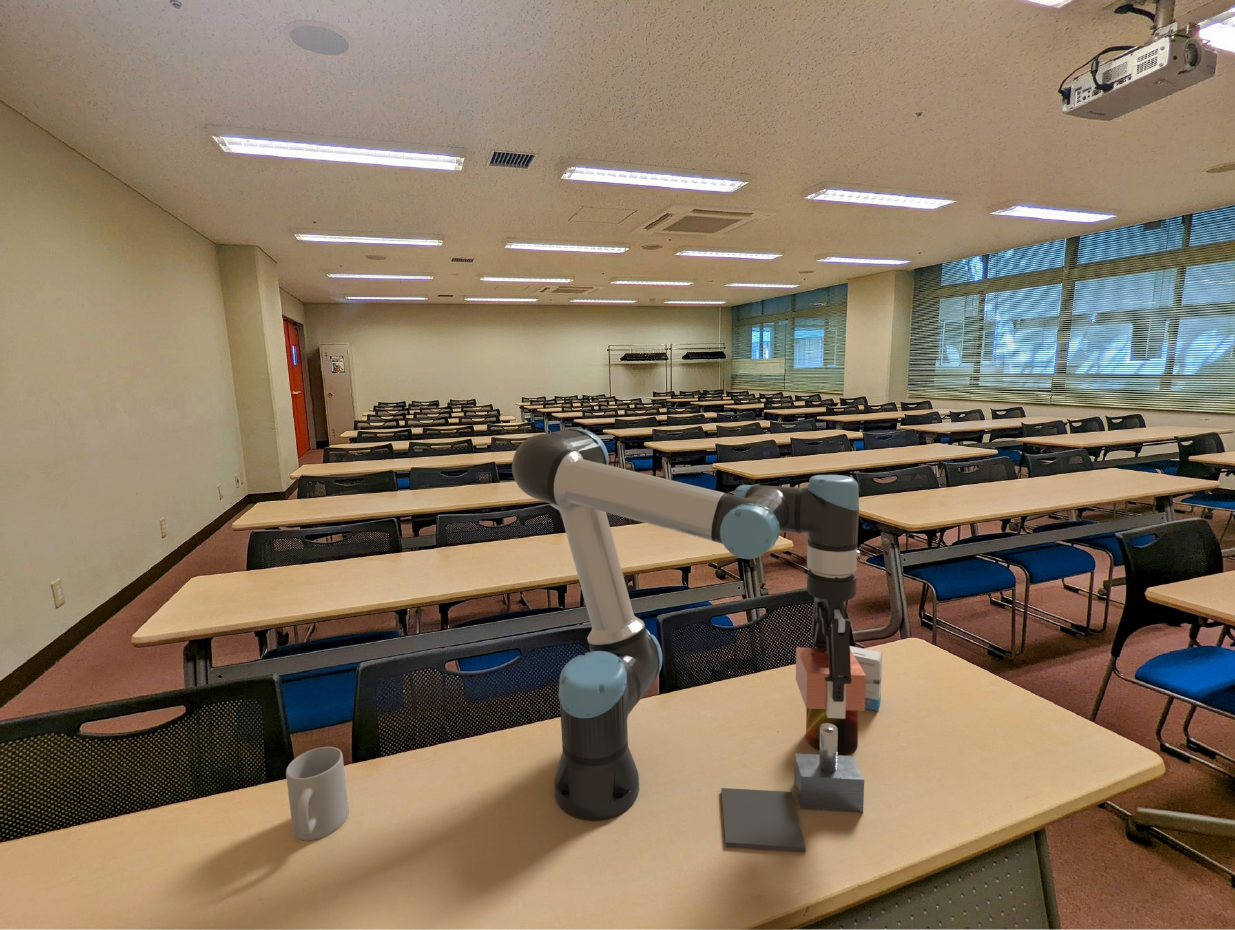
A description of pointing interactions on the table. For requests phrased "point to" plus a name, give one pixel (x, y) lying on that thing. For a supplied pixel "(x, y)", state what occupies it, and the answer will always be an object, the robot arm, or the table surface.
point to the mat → (761, 820)
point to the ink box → (870, 675)
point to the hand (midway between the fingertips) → (828, 700)
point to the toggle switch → (828, 777)
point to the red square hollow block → (814, 686)
